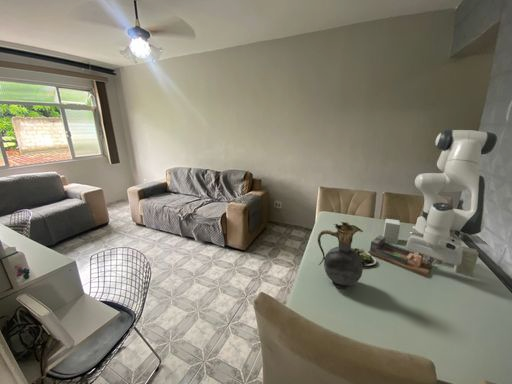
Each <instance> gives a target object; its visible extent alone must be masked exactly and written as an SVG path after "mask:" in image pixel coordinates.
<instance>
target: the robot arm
mask: <svg viewBox="0 0 512 384" xmlns="http://www.w3.org/2000/svg"><path fill="white" fill-rule="evenodd" d="M497 142H498V135H496V133H493V132H489V131H479V130H473V129H472V130H471V129H467V130H466V129H444V130H442V131H440V132H439V134H438V135H437V136H436V139H435V148H436V149H437V150H440V151H441V153H440V155H439V157H438V158H437V162H436V166H437V168H438V169H439V170H440V171H441V173H440V172H439V173H438V172H425V173H420V174H418V175H416V176H415V177H416V178H415V179H414V184H415V187H416V188H417V189H418V190H419V191H420V192H421V193H422V195H423V196H424V198H423V199H424V203H423V208H422V210H421V215H420V216H418V217H417V220H416V223H415V225H412V229H413V230H415V231H416V232H415V231H412V232H411V231H410V232H408V234H407V242H406V245H405V247H406V250H409V251H412V252H414V253H418V254H419V253H421V254H423V255H424V257H423V259H424V260H426V264H428V265H431V266H433V265H435V263H438V262H437V261H438V260H441V261H442V262H445V263H448V264H450V265H453V266H454V265H456V266H458V265H460V264H461V262H462V256H463V252H462V249H461V246H462V245H463V244H462V243H463V242H461V241H460V240H458V239H456V238H454V237H452V236H451V233H450V230H453V231H457V232H460V233H462V234H465V235H469V236H472V235H477V234H480V233H482V231H483V229H484V228H485V217H484V207H485V195H486V194H485V191H486V182H485V181H486V180H485V178H484V176H482V175H481V174H480V172H479V165H480V161H481V156H482V155H488V154H490V153H491V152H492V151H493V150H494V149H495V148H496V146H497V144H498V143H497ZM466 189H468V190H469V191H470V193H471V197H470V198H471V199H470V200H471V201H470V209H469V210H463V209H458V208H454V205H452V204H450V203H448V200H447V199H446V198H444V197H442V196H441V195H439V193H440V192H447V193H454V192H455V193H459V192H464V191H465V190H466ZM425 226H426V228H425ZM424 229H425V231H424ZM423 234H424V235H423ZM462 247H463V246H462ZM428 256H429V257H432V258H434V261H431V260H429V259H428ZM433 267H434V266H433Z"/></svg>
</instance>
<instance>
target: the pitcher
mask: <svg viewBox="0 0 512 384" xmlns="http://www.w3.org/2000/svg"><path fill="white" fill-rule="evenodd" d="M340 223H341V224H338V223H335V224H333V225H334V227H335V229H336V230H337V231H335V232H334V231H331V230H327V229H326V230H325V229H324V230H321V231H320V232H319V233H318V234H317V244H318V246H319V249H320V251H321V253H322V259H321V261H320V262H319V264H318V266H320V265H321V264H322V263H323V267H324V272H325V273H326V276H327V277H328V279H330V280H331V283H332V285H334V286H335V287H336V288H339V289H349V288H350V287H351V286H352V285H354V284H355V283H357V282H358V281H359V280H360V279H361V277H362V275H363V271H364V270H363V265H362V260H361V258H360V256H359V255H358V254H357V253H356V252H355V251H353V250H352V249H351V248H352V243H353V237H354V235H355V234H356V233H358V232H359V233H363V232H364V230H363V229H361V228H359V226H357V225H354V224H350V222H347V221H346V222H345V221H340ZM324 235H330V236H332V237H335V238H337V241H338V245H337V246H336V247H333V248H331V249H329V250H328V251H327V253H326V254H325V252H324V249H323V247H322V245H321V244H322V242H321V237H322V236H324Z"/></svg>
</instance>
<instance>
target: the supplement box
mask: <svg viewBox="0 0 512 384" xmlns="http://www.w3.org/2000/svg"><path fill="white" fill-rule="evenodd" d="M384 221H385V222H384V227H383V232H382V233H383V234H382V236H384V237H385V242H386V243H389V244H392V245H397V244H398V240H399V234H400V227H401V222H400V220H399V219H393V218H392V219H391V218H385V220H384Z"/></svg>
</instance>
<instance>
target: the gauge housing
mask: <svg viewBox="0 0 512 384" xmlns="http://www.w3.org/2000/svg"><path fill="white" fill-rule="evenodd" d="M369 248H370V249H369V250H368V251H367V252H368V253H369V254H370V255H371V256H372V257H374V258H375V259H376V258H377V259H378V260H381V261H384V262H386V263H389V264H392V265H394V266H397V267H399V268H401V269H404V270H406V271H408V272H411V273H413V274H416V275H419V276H421V277H424V278H427V277H428V276H429V274H430V272H431V271H432V269H433V268H434V265H435V264H434V265H433V266H431V265H428V264H426V260H425V259H423V262H422V264H421V265H420V266H419V267H418V266H415V265H412V264H410V263H407V261H408V259H406V257H407V256H408V255H409V254H410V253H412V254H415V251H412V250H409V249H407V248H402V247H400V246H397V245H396V244H393V243H388V242H385V237H384V236H383V235H381V234H380V235H378V236H377V237H375V238H374V239H373V240H371V243H370V247H369Z"/></svg>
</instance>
